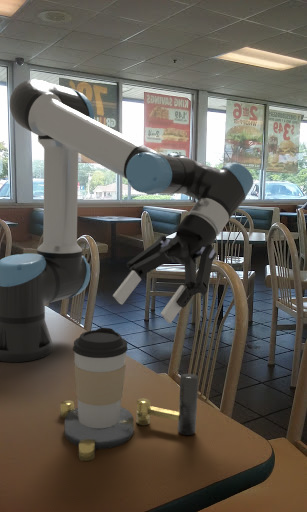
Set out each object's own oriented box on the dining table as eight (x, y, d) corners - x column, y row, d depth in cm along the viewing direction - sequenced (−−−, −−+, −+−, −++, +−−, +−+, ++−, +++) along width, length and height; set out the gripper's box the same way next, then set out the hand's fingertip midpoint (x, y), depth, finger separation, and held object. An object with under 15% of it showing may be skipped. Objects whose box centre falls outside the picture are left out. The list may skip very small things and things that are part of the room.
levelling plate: (55, 413, 85) (56, 401, 85) (116, 404, 90) (117, 393, 89) (76, 463, 71) (77, 449, 70) (148, 449, 75) (149, 436, 75)
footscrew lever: (133, 424, 82) (135, 370, 81) (139, 416, 85) (141, 364, 84) (192, 437, 79) (195, 382, 77) (197, 429, 81) (200, 375, 80)
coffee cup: (117, 435, 75) (119, 345, 73) (63, 427, 77) (64, 339, 74) (131, 409, 84) (133, 328, 81) (82, 403, 85) (84, 323, 83)
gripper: (151, 206, 101) (89, 282, 93) (245, 219, 83) (179, 314, 75) (167, 230, 105) (110, 304, 98) (260, 248, 87) (198, 340, 80)
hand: (139, 309), depth 86 cm, fingers open, 13 cm apart
